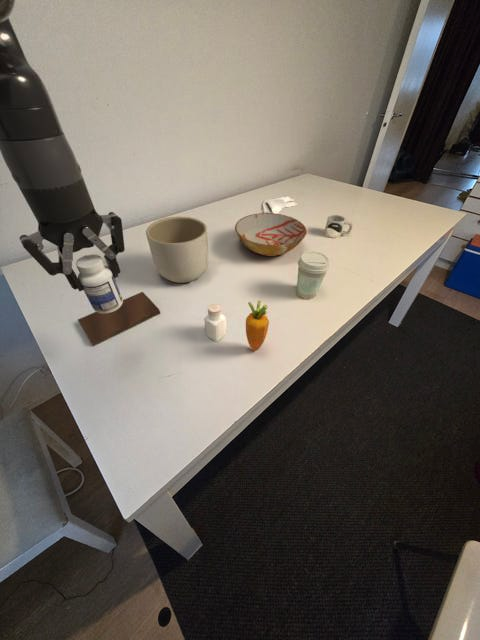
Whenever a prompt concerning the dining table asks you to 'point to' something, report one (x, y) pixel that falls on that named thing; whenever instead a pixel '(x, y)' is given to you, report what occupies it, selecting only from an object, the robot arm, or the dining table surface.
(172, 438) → the dining table surface
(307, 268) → the coffee cup
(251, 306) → the carrot
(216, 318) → the pepper shaker
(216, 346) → the dining table surface
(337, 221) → the mug
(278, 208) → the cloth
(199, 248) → the planter
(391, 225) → the dining table surface
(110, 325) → the board
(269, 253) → the bowl
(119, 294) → the pill bottle
